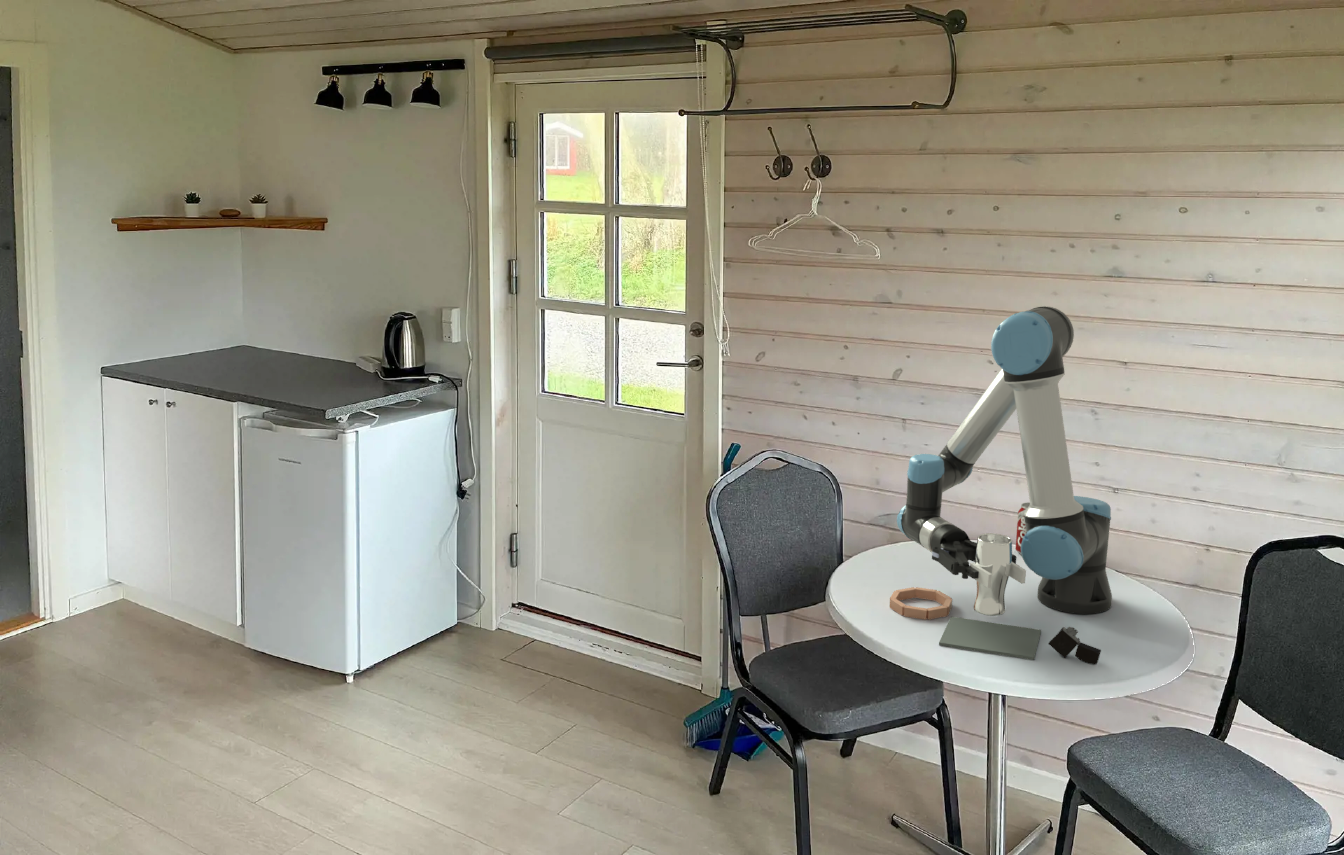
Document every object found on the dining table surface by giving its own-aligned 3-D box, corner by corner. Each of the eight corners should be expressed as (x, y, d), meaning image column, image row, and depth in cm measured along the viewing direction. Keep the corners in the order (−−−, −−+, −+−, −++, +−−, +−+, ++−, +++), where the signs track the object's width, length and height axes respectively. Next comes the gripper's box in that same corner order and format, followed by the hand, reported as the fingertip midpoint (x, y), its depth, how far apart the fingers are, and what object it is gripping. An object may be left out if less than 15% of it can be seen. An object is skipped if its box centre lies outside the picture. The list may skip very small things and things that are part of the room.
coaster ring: (954, 601, 248) (955, 592, 248) (945, 622, 237) (945, 613, 237) (897, 593, 253) (898, 584, 252) (885, 613, 242) (885, 604, 241)
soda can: (1047, 551, 279) (1051, 504, 276) (1040, 559, 273) (1043, 511, 270) (1019, 546, 282) (1023, 500, 279) (1011, 554, 277) (1015, 507, 274)
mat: (1040, 632, 232) (1041, 629, 232) (1033, 660, 219) (1034, 657, 219) (950, 619, 239) (950, 616, 239) (938, 645, 226) (939, 642, 226)
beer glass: (1008, 618, 224) (1014, 545, 220) (972, 615, 225) (977, 543, 222) (1005, 604, 231) (1011, 534, 227) (970, 601, 232) (975, 531, 228)
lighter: (1087, 671, 221) (1106, 652, 218) (1084, 675, 219) (1103, 656, 216) (1050, 639, 223) (1069, 620, 221) (1047, 643, 222) (1065, 624, 219)
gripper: (984, 552, 246) (1049, 591, 225) (902, 561, 241) (960, 602, 219) (987, 519, 245) (1052, 555, 223) (904, 527, 239) (963, 565, 218)
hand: (1006, 578), depth 221 cm, fingers closed on beer glass, 7 cm apart
